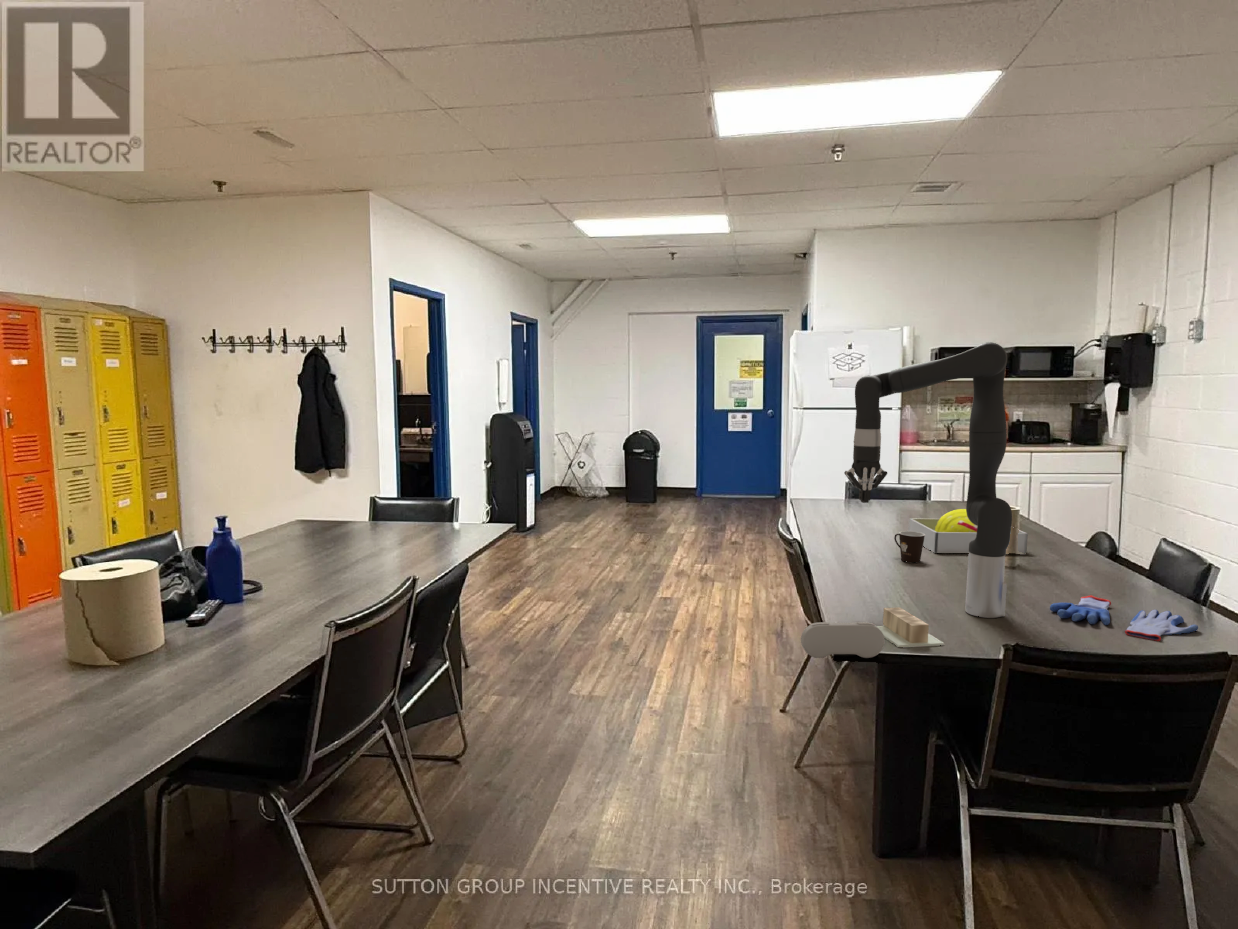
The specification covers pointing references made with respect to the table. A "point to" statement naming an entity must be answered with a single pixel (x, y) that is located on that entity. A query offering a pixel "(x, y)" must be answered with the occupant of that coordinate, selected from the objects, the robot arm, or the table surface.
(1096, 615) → the pair of gloves
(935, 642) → the felt mat
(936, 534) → the grey crate
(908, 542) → the coffee mug
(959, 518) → the hard hat
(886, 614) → the beech block
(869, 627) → the game controller
